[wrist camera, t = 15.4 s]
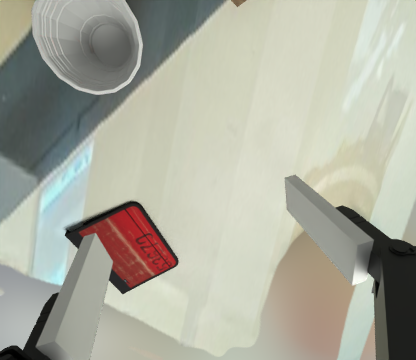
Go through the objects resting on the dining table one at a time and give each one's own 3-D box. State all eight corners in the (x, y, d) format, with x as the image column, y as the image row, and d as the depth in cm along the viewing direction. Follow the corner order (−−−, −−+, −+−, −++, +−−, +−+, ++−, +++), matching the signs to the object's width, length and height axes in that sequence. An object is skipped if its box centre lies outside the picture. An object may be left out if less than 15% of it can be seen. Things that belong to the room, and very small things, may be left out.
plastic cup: (53, 17, 31) (-1, -6, 21) (127, -11, 32) (110, -47, 21) (96, 96, 37) (70, 109, 26) (159, 72, 37) (159, 75, 26)
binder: (122, 295, 55) (62, 236, 45) (123, 287, 57) (66, 229, 47) (182, 266, 55) (136, 200, 45) (181, 259, 57) (137, 195, 47)
